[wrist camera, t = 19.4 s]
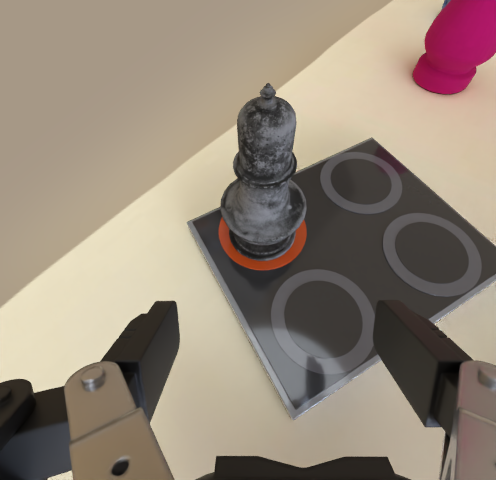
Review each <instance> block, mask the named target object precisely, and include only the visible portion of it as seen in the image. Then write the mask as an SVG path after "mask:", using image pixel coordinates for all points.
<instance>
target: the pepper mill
mask: <svg viewBox="0 0 496 480" xmlns="http://www.w3.org/2000/svg"><path fill="white" fill-rule="evenodd" d="M425 49H426V53H425V54H423V55H422V56H421V57H420V58H419V61H418V63H417V65H416V67H415V69H414V71H413V78H414V80H415V82H416V83H417V84H418V85H420V86H421V87H422V88H424V89H426V90H428V91H431V92H435V93H440V94H453V93H458V92H460V91H462V90H464V89H465V88H466V87H467V86H468V84H469V83H470V81H471V79H472V78H473V76H474V75H475V73H476V66H478V65H480V64H482V63H484V62H486V61H487V60H489V59H490V58H491V57H492V56H493V55H494V54H495V53H496V0H451V1H450V2H449V3H448V4H447V5H446V6H445V7H444V8H443V9H442V11H441V12H440V13H439V15H438V16H437V17H436V18H435V20H434V21H433V23H432V25H431V26H430V28H429V30H428V32H427V33H426V36H425Z"/></svg>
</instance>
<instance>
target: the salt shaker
mask: <svg viewBox="0 0 496 480" xmlns="http://www.w3.org/2000/svg"><path fill="white" fill-rule="evenodd" d="M275 94H276V92H275V90H274V89H273V87H272V86H271V85H270V84H269V83H267V84H266V86H264V88H263V89H262V90H261V91H260V95H261V97H257V98H254V99H252V100H250V101H249V102H247V103H246V104H245V105H244V107H243V108H242V109H241V110H240V112H239V115H238V120H237V130H238V145H239V152H238V153H237V154H236V156H235V158H234V161H233V169H234V172H235V175H236V176H237V177H238V178H237V179H236V180H235V181H234V182H232V183H231V184H230V185H229V186H228V187H227V189H226V190H225V191H224V194H223V196H222V199H221V208H220V209H221V213H222V217H223V220H224V221H225V223H226V225H227V226H228V228H229V237H230V240H231V243H232V245H233V246H234V248H235V249H236V250H237V251H238V252H239V253H240V254H241V255H243V256H245V257H247V258H249V259H253V260H257V261H269V260H273V259H276V258H278V257H280V256H282V255H284V254H285V253H286V252H287V251H288V250H289V249H290V248H291V246H292V244H293V243H294V240H295V235H296V230H297V229H298V228H299V227H300V225H301V223H302V222H303V220H304V218H305V214H306V209H307V207H306V199H305V197H304V195H303V192H302V190H301V189H300V188H299V187H298V186H297V185H296V183H294V182H293V181H291V180H290V179H291V178H292V177H293V175H294V174H295V172H296V168H297V160H296V157H295V155H294V153H293V152H292V149H293V143H294V136H295V129H296V115H295V112H294V110H293V108H292V107H291V105H290V104H289V103H288V102H287V101H285V100H284V99H282V98H279V97H276V96H275Z"/></svg>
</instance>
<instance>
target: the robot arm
mask: <svg viewBox="0 0 496 480" xmlns="http://www.w3.org/2000/svg"><path fill="white" fill-rule="evenodd" d="M179 342H180V334H179V323H178V312H177V304H176V302H175V301H156V302H155V303H154V304H153V306H152V307H151V309H150V310H149V312H148V313H147V314H140V315H139V316H138V317H136V318H135V319H133V320H132V321H131V322H130V323H129V324H128V325H127V327H126V328H125V329H124V331H123V332H122V333H121V335H120V336H119V338H118V339H117V340H116V341H115V343H114V344H113V345H112V347H111V348H110V349H109V351H108V352H107V353H106V354H105V356H104V357H103V358H102V360H101V361H100V362H97V363H93V364H90V365H88V366H85V367H83V368H81V369H80V370H78V371H77V372H75V373H74V374H73V375H72V376H71V377H70V378H69V379H68V380H67V382H66V384H65V386H62V387H58V388H54V389H49V390H45V391H41V392H36V393H34V392H33V388H32V385H31V383H30V382H29V381H27V380H24V379H14V380H9V381H5V382H2V383H0V480H47V479H48V478H49V477H52V476H55V475H58V474H61V473H65V472H68V471H71V470H72V473H73V480H174V478H173V475H172V473H171V471H170V469H169V466H168V464H167V462H166V460H165V457H164V455H163V453H162V451H161V448H160V446H159V444H158V442H157V439H156V437H155V435H154V433H153V431H152V428H151V426H150V421H151V419H152V416H153V414H154V411H155V409H156V406H157V403H158V401H159V398H160V396H161V393H162V391H163V388H164V386H165V383H166V380H167V378H168V375H169V373H170V370H171V368H172V365H173V363H174V360H175V357H176V355H177V352H178V349H179ZM373 344H374V347H375V350H376V352H377V354H378V355H379V357H380V358H381V360H382V361H383V363H384V364H385V366H386V367H387V369H388V371H389V372H390V374H391V375H392V377H393V378H394V380H395V381H396V383H397V384H398V386H399V388H400V389H401V391H402V392H403V394H404V395H405V397H406V398H407V400H408V401H409V403H410V405H411V406H412V408H413V409H414V411H415V412H416V414H417V415H418V417H419V418H420V420H421V422H422V423H423V425H424V426H425V427H442V428H443V429H444V431H445V436H444V440H443V447H442V455H441V463H440V472H439V480H496V365H493V364H490V363H486V362H482V361H474V360H473V359H472V358H471V357H470V356H468V355H467V354H466V353H465V352H464V351H463V350H462V349H461V348H460V347H459V346H457V345H456V344H455V343H454V342H453V341H452V340H451V339H450V338H447V336H446V335H445V334H444V333H443V332H442V331H441V330H439V328H437V327H436V326H435V325H434V324H433V323H432V322H431V321H430V320H428V319H426V318H425V317H423V316H421V315H419V314H417V313H413V312H412V311H411V310H410V309H409V308H408V307H407V306H406V305H405V304H404V303H403V302H402V301H400V300H379V301H378V302H377V305H376V312H375V320H374V329H373ZM196 480H410V479H408V478H405V477H403V476H400V475H397V474H395V473H394V471H393V468H392V466H391V464H390V462H389V460H388V457H342V458H338V459H335V460H332V461H328V462H325V463H321V464H318V465H314V466H311V467H307V468H299V467H295V466H292V465H288V464H284V463H281V462H277V461H273V460H270V459H266V458H263V457H259V456H216V464H215V472H213V473H210V474H207V475H205V476H202V477H200V478H198V479H196Z"/></svg>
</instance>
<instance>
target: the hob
mask: <svg viewBox="0 0 496 480" xmlns="http://www.w3.org/2000/svg"><path fill="white" fill-rule="evenodd" d="M290 180H291V181H293V182H294V183H296V185H297V186H298V187H299V188H300V189H301V190H302V192H303V195H304V197H305V199H306V207H307V209H306V214H305V218H304V220H303V222H302V223H301V225H300V227H299V228H298V229H297V230H296V235H295V240H294V243H293V244H292V246H291V248H290V249H289V250H288V251H287V252H286V253H285V254H284V255H282V256H280V257H278V258H276V259H273V260H269V261H257V260H253V259H249V258H247V257H245V256H243V255H241V254H240V253H239V252H238V251H237V250H236V249H235V248H234V246H233V245H232V243H231V240H230V237H229V228H228V226H227V225H226V223H225V221H224V220H223V217H222V213H221V209H220V208H221V207H219V208H217V209H214V210H212V211H210V212H208V213H206V214H203V215H201V216H199V217H197V218H195V219H193V220H190V221H188V222H187V225H188V228H189V230H190V232H191V234H192V236H193V237H194V239H195V241H196V243H197V245H198V247H199V249H200V250H201V252H202V254H203V256H204V258H205V260H206V262H207V264H208V265H209V267H210V269H211V271H212V273H213V275H214V277H215V278H216V280H217V282H218V284H219V286H220V288H221V290H222V292H223V293H224V295H225V297H226V299H227V301H228V303H229V305H230V306H231V308H232V310H233V312H234V314H235V316H236V318H237V320H238V321H239V323H240V325H241V327H242V329H243V331H244V333H245V334H246V336H247V338H248V340H249V342H250V344H251V346H252V348H253V349H254V351H255V353H256V355H257V357H258V359H259V361H260V362H261V364H262V366H263V368H264V370H265V372H266V374H267V376H268V377H269V379H270V381H271V383H272V385H273V387H274V389H275V390H276V392H277V394H278V396H279V398H280V400H281V402H282V404H283V405H284V407H285V409H286V411H287V413H288V415H289V417H290V418H291V419H292V420H295V419H296V418H298V417H299V416H301V415H302V414H304V413H305V412H307V411H308V410H310V409H311V408H312V407H314V406H315V405H317V404H318V403H320V402H321V401H323V400H324V399H325V398H327V397H328V396H330V395H331V394H333V393H334V392H336V391H337V390H339V389H340V388H341V387H343V386H344V385H346V384H347V383H349V382H350V381H352V380H353V379H354V378H356V377H357V376H359V375H360V374H362V373H363V372H365V371H366V370H368V369H369V368H370V367H372V366H373V365H375V364H376V363H378V362H379V361H381V358H380V357H379V355H378V354H377V352H376V350H375V347H374V344H373V329H374V320H375V312H376V305H377V302H378V301H379V300H400V301H402V302H403V303H404V304H405V305H406V306H407V307H408V308H409V309H410V310H411V311H412V312H413V313H417V314H419V315H421V316H423V317H425V318H426V319H428V320H430V321H431V322H432V323H433V324H434V323H436V322H437V321H439V320H440V319H441V318H443V317H444V316H446V315H447V314H449V313H450V312H452V311H453V310H455V309H456V308H457V307H459V306H460V305H462V304H463V303H465V302H466V301H468V300H469V299H470V298H472V297H473V296H475V295H476V294H478V293H479V292H481V291H482V290H484V289H485V288H486V287H488V286H489V285H491V284H492V283H494V282H495V281H496V246H495V245H494V244H493V243H492V242H491V241H489V240H488V239H487V238H486V237H485V236H484V235H483V234H481V233H480V232H479V231H478V230H477V229H476V228H475V227H473V226H472V225H471V224H470V223H469V222H468V221H467V220H466V219H464V218H463V217H462V216H461V215H460V214H459V213H458V212H456V211H455V210H454V209H453V208H452V207H451V206H450V205H448V204H447V203H446V202H445V201H444V200H443V199H442V198H440V197H439V196H438V195H437V194H436V193H435V192H434V191H433V190H431V189H430V188H429V187H428V186H427V185H426V184H425V183H423V182H422V181H421V180H420V179H419V178H418V177H417V176H415V175H414V174H413V173H412V172H411V171H410V170H409V169H407V168H406V167H405V166H404V165H403V164H402V163H401V162H400V161H398V160H397V159H396V158H395V157H394V156H393V155H392V154H390V153H389V152H388V151H387V150H386V149H385V148H384V147H382V146H381V145H380V144H379V143H378V142H377V141H376V140H374V139H373V138H370V139H367V140H365V141H363V142H361V143H359V144H356V145H354V146H352V147H350V148H348V149H345V150H343V151H341V152H339V153H337V154H335V155H332V156H330V157H328V158H326V159H324V160H321V161H319V162H317V163H315V164H313V165H311V166H308V167H306V168H304V169H302V170H300V171H297V172H295V174H294V175H293V177H292V178H291V179H290Z"/></svg>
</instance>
